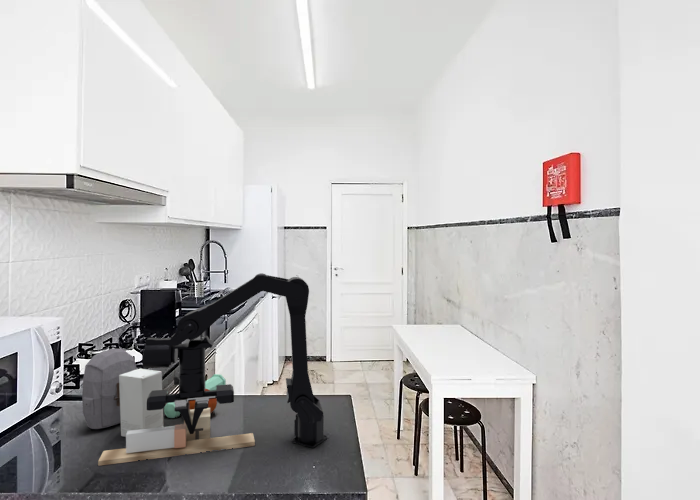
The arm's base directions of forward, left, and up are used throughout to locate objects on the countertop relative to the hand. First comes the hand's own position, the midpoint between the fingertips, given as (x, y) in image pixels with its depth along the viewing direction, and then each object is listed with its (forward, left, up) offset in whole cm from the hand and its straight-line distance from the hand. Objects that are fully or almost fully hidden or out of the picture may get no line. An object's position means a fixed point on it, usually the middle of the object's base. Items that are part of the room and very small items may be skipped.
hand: (191, 433), depth 103 cm
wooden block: (+4, -5, -4) cm, 8 cm away
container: (+23, -21, -4) cm, 31 cm away
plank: (+2, +2, -4) cm, 4 cm away
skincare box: (+17, +1, -4) cm, 18 cm away
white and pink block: (+5, +6, -2) cm, 8 cm away
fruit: (+14, -15, -4) cm, 21 cm away
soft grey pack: (+29, +1, -4) cm, 29 cm away
